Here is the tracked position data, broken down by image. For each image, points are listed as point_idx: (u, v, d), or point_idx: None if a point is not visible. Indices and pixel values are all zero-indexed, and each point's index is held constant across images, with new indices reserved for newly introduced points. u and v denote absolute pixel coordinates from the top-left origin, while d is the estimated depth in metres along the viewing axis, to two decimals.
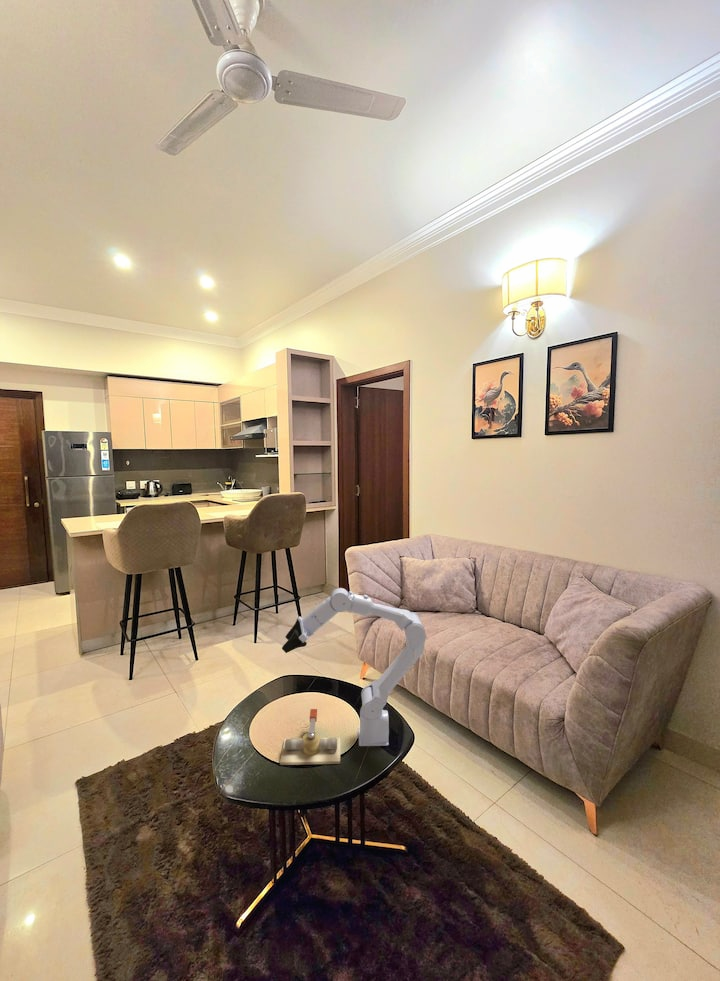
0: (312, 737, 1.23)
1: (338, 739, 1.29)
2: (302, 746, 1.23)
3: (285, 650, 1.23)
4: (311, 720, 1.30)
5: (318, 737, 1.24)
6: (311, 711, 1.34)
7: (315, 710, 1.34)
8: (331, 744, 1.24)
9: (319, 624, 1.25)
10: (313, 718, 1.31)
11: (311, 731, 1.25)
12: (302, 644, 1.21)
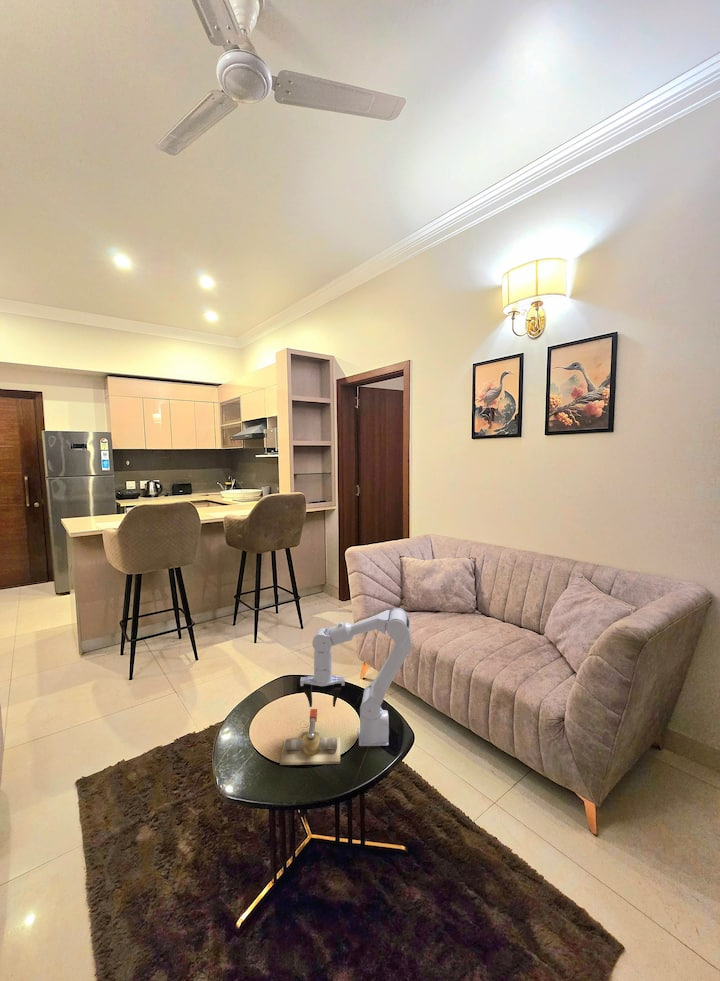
0: (312, 737, 1.23)
1: (338, 739, 1.29)
2: (302, 746, 1.23)
3: None
4: (311, 720, 1.30)
5: (318, 737, 1.24)
6: (311, 711, 1.34)
7: (315, 710, 1.34)
8: (331, 744, 1.24)
9: (314, 669, 1.30)
10: (313, 718, 1.31)
11: (311, 731, 1.25)
12: None
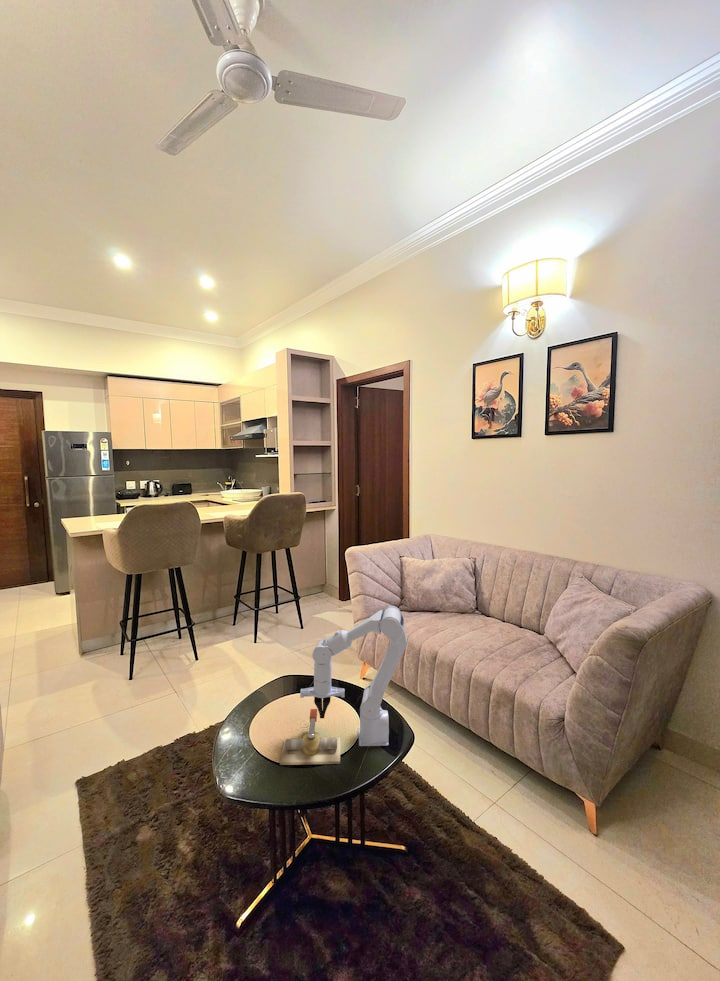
0: (312, 737, 1.23)
1: (338, 739, 1.29)
2: (302, 746, 1.23)
3: (320, 715, 1.33)
4: (311, 720, 1.30)
5: (318, 737, 1.24)
6: (311, 711, 1.34)
7: (315, 710, 1.34)
8: (331, 744, 1.24)
9: (314, 681, 1.31)
10: (313, 718, 1.31)
11: (311, 731, 1.25)
12: None
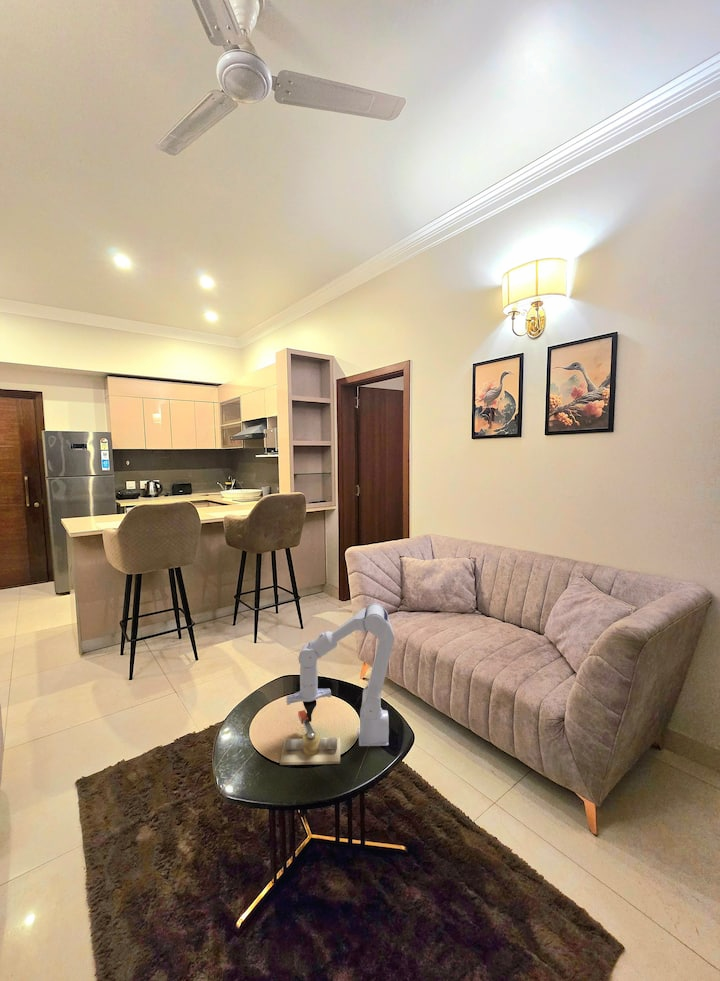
0: (313, 736, 1.23)
1: (338, 739, 1.29)
2: (302, 746, 1.23)
3: None
4: (304, 721, 1.29)
5: (318, 737, 1.24)
6: (300, 713, 1.33)
7: (303, 711, 1.34)
8: (331, 744, 1.24)
9: (301, 685, 1.29)
10: (305, 719, 1.30)
11: (310, 731, 1.25)
12: (304, 705, 1.30)
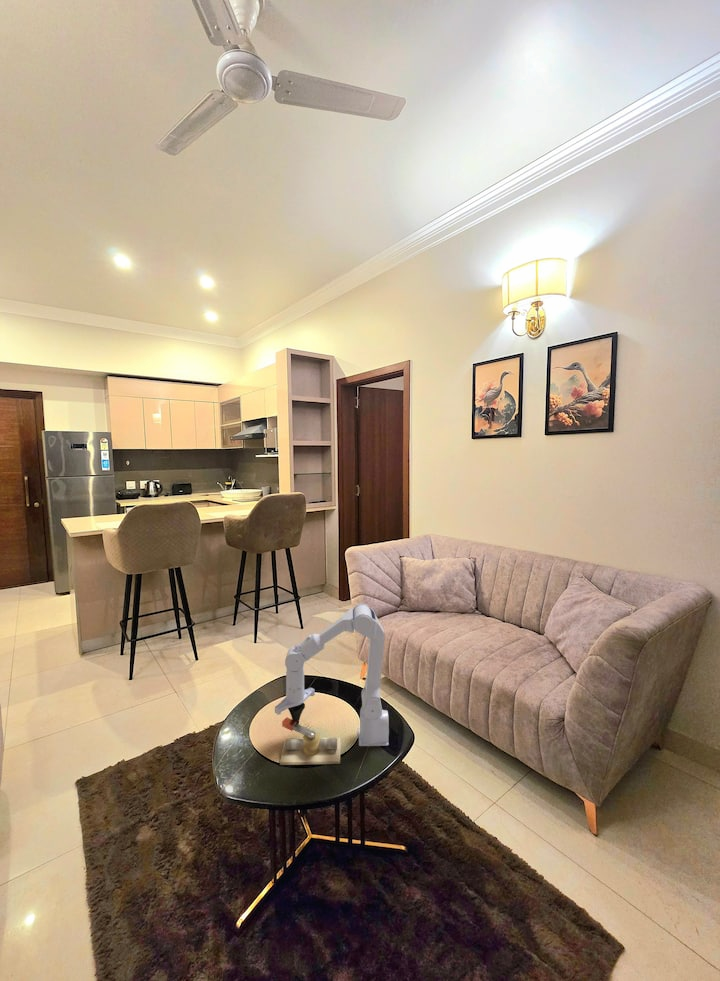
0: None
1: (338, 739, 1.29)
2: (302, 746, 1.23)
3: None
4: (296, 726, 1.27)
5: (318, 737, 1.24)
6: (285, 721, 1.28)
7: (287, 718, 1.30)
8: (331, 744, 1.24)
9: (291, 691, 1.26)
10: (295, 724, 1.28)
11: (310, 732, 1.24)
12: (293, 711, 1.27)
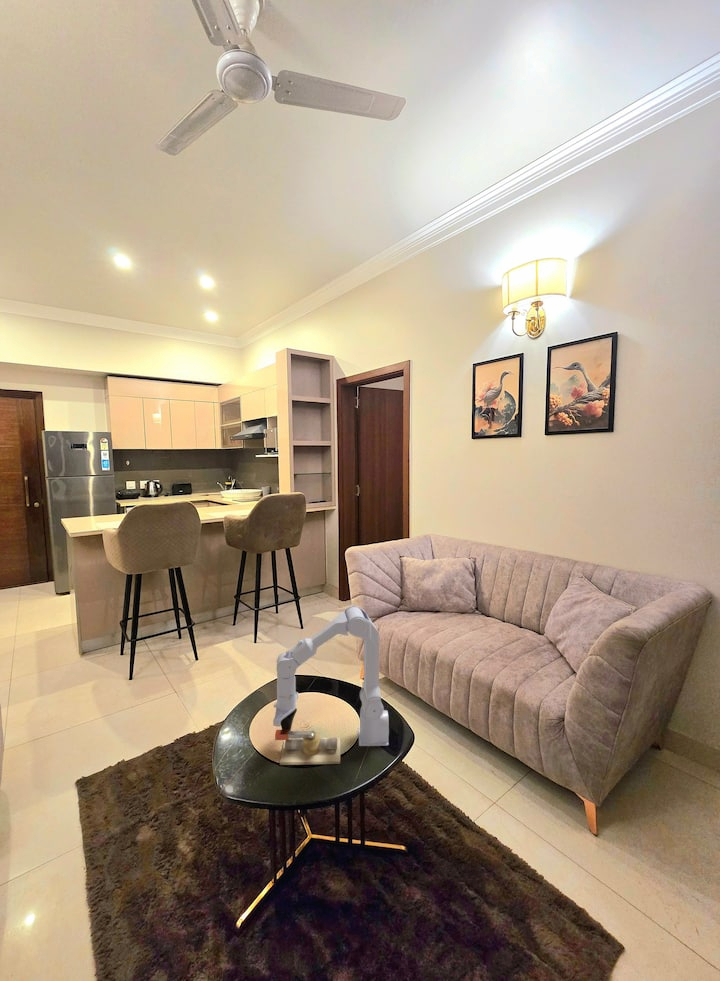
0: None
1: (338, 739, 1.29)
2: (302, 746, 1.23)
3: None
4: (292, 733, 1.24)
5: (318, 737, 1.24)
6: (279, 733, 1.23)
7: (278, 730, 1.24)
8: (331, 744, 1.24)
9: (286, 698, 1.22)
10: (290, 732, 1.24)
11: (309, 732, 1.24)
12: (288, 719, 1.23)
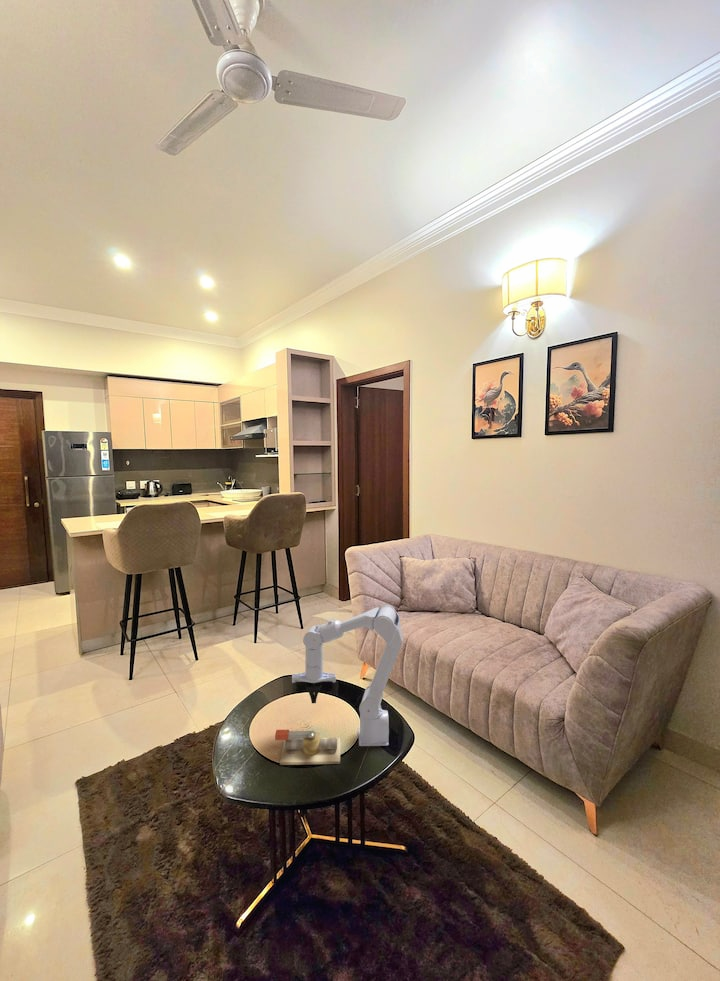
0: None
1: (338, 739, 1.29)
2: (302, 746, 1.23)
3: (311, 700, 1.34)
4: (292, 733, 1.24)
5: (318, 737, 1.24)
6: (279, 733, 1.23)
7: (278, 730, 1.24)
8: (331, 744, 1.24)
9: (306, 666, 1.32)
10: (290, 732, 1.24)
11: (309, 732, 1.24)
12: None
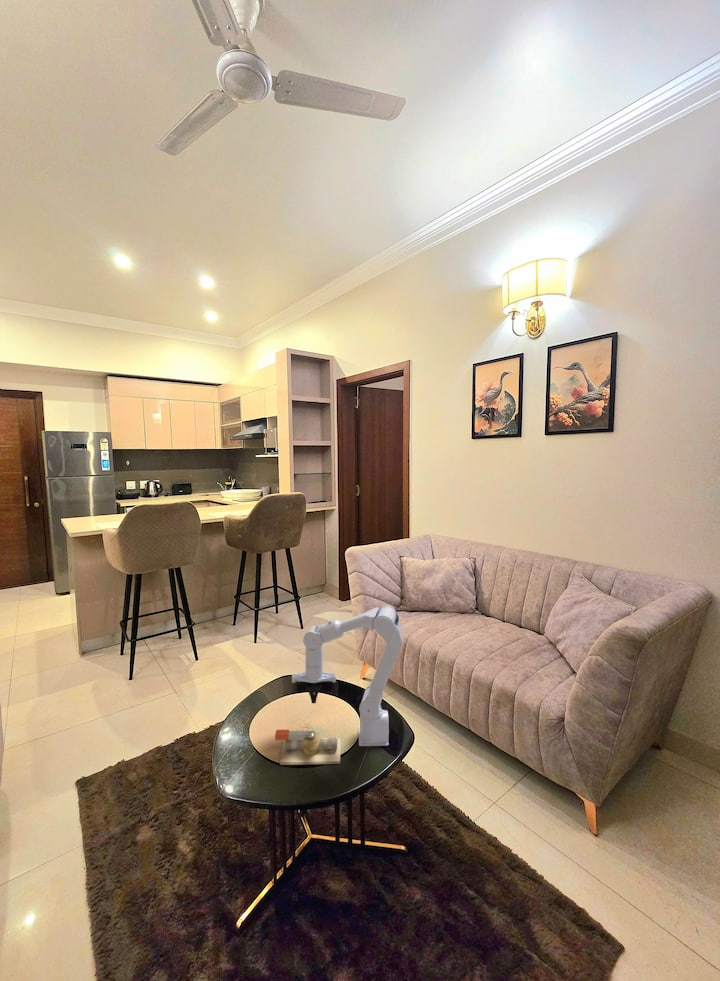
0: None
1: (338, 739, 1.29)
2: (302, 746, 1.23)
3: (311, 700, 1.34)
4: (292, 733, 1.24)
5: (318, 737, 1.24)
6: (279, 733, 1.23)
7: (278, 730, 1.24)
8: (331, 744, 1.24)
9: (306, 666, 1.32)
10: (290, 732, 1.24)
11: (309, 732, 1.24)
12: None
